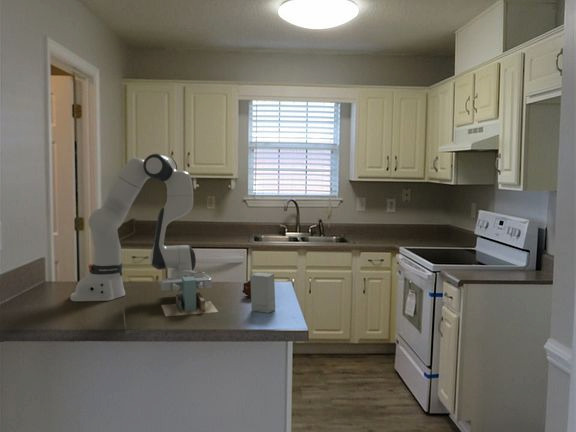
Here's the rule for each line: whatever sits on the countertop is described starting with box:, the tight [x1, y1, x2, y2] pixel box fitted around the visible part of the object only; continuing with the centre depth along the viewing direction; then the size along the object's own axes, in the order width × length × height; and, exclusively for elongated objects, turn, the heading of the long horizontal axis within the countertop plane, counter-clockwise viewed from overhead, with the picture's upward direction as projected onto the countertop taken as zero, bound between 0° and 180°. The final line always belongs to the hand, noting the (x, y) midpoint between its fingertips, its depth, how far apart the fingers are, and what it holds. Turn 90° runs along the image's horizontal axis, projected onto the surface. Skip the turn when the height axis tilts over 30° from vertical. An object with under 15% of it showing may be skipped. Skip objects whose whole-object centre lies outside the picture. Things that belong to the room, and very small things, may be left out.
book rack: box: [161, 292, 219, 317], centre depth 196 cm, size 20×16×6 cm
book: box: [181, 276, 197, 311], centre depth 196 cm, size 4×7×12 cm, turn 20°
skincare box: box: [249, 272, 276, 314], centre depth 198 cm, size 8×6×15 cm
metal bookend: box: [175, 294, 181, 313], centre depth 195 cm, size 1×10×4 cm, turn 20°
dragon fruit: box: [242, 280, 251, 299], centre depth 220 cm, size 8×8×12 cm
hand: (189, 287), depth 195 cm, fingers open, 7 cm apart
